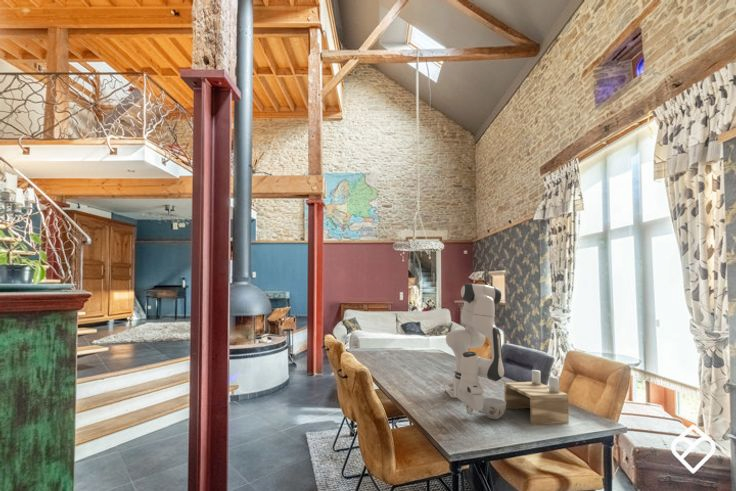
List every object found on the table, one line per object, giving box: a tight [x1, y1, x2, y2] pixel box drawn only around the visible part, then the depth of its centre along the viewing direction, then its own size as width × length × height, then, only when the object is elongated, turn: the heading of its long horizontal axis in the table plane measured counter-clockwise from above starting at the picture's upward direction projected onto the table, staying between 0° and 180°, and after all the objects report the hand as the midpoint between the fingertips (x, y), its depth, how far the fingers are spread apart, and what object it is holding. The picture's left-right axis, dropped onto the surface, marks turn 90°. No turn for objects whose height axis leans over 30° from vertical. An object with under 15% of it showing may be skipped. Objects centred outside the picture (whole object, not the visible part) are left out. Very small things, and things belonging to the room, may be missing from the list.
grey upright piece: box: [548, 375, 560, 393], centre depth 192 cm, size 4×4×7 cm
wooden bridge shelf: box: [503, 381, 570, 426], centre depth 197 cm, size 24×20×14 cm
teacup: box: [478, 397, 507, 420], centre depth 191 cm, size 15×12×8 cm
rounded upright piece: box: [531, 369, 542, 385], centre depth 206 cm, size 4×4×7 cm
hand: (469, 414), depth 189 cm, fingers closed
